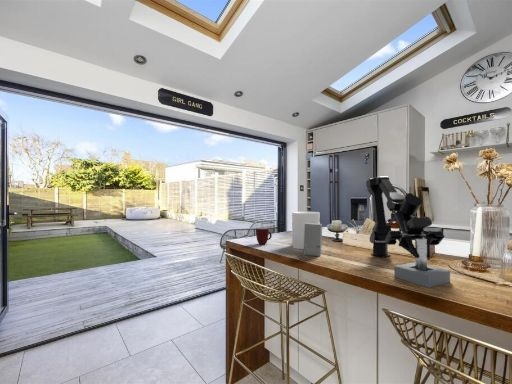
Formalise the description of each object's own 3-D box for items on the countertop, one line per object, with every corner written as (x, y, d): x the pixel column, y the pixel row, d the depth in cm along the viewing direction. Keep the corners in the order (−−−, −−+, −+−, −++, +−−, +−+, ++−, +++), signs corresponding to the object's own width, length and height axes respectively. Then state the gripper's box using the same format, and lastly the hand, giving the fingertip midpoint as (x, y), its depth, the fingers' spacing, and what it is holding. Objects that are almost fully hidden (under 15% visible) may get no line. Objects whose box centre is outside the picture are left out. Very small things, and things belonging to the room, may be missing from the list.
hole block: (415, 272, 96) (415, 262, 96) (450, 282, 85) (449, 270, 85) (394, 276, 91) (394, 265, 91) (428, 287, 80) (428, 275, 80)
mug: (266, 242, 159) (266, 226, 159) (274, 244, 152) (274, 227, 152) (253, 244, 152) (253, 228, 152) (261, 246, 146) (261, 229, 146)
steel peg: (416, 273, 91) (416, 237, 91) (428, 275, 88) (427, 238, 88) (414, 275, 88) (414, 238, 88) (426, 277, 86) (426, 240, 86)
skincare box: (303, 255, 124) (303, 223, 124) (306, 252, 131) (306, 222, 131) (320, 256, 121) (320, 224, 121) (322, 253, 128) (322, 222, 128)
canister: (313, 243, 154) (313, 211, 154) (324, 248, 138) (324, 213, 139) (288, 244, 151) (288, 211, 152) (297, 250, 136) (297, 213, 136)
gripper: (388, 209, 93) (403, 244, 82) (440, 209, 91) (463, 245, 80) (379, 227, 101) (392, 261, 90) (428, 227, 99) (447, 262, 88)
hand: (423, 257), depth 87 cm, fingers closed on steel peg, 3 cm apart
